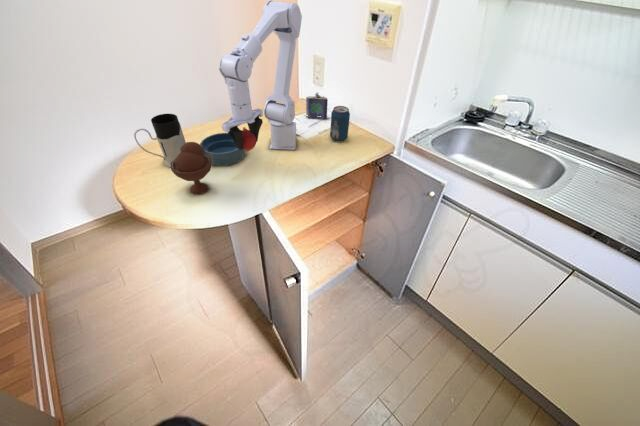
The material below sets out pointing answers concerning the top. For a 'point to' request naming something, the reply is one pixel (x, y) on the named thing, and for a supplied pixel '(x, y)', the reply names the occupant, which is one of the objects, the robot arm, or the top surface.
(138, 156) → the top surface
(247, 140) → the pomegranate
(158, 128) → the glass holder
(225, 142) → the bowl
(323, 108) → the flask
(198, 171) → the ice cream bowl
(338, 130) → the soda can
